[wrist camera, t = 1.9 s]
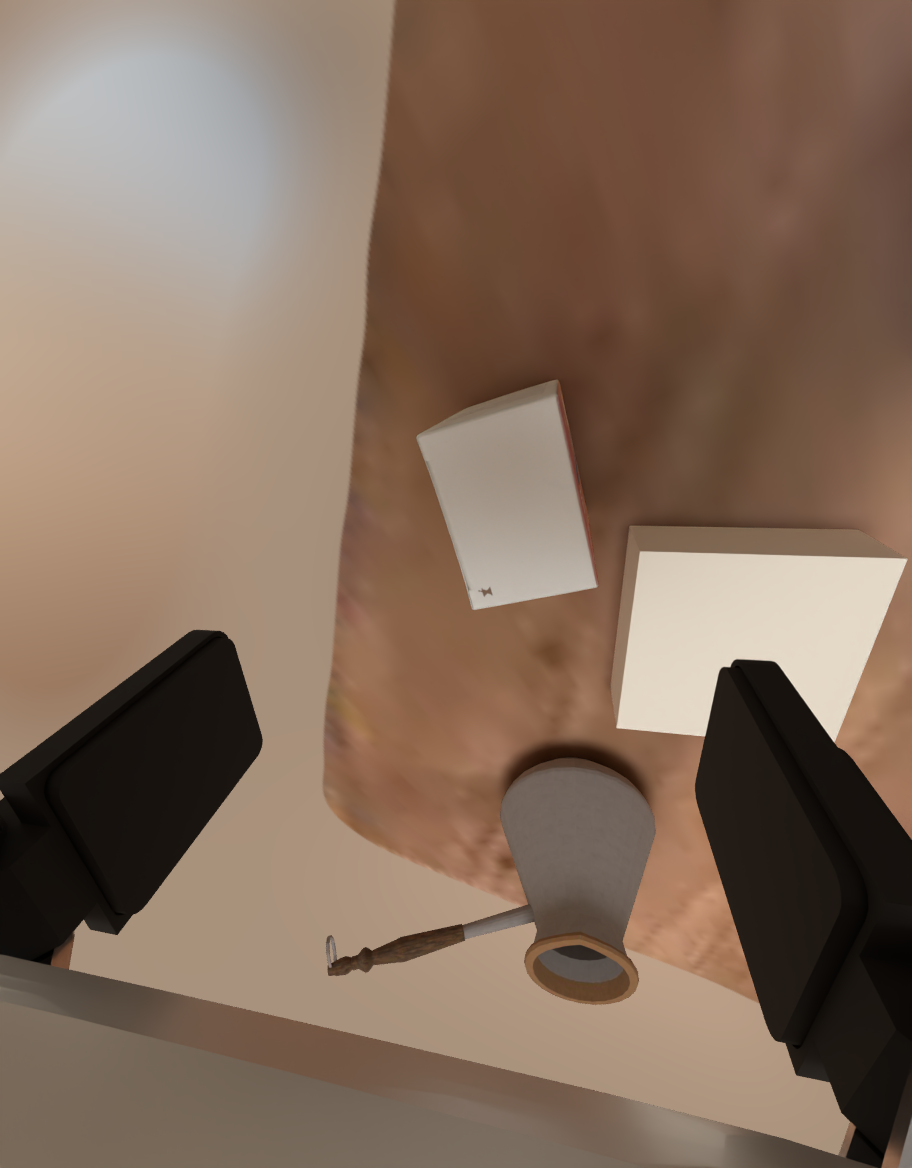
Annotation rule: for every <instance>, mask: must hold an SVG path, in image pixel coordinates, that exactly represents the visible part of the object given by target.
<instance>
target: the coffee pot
mask: <svg viewBox="0 0 912 1168" xmlns="http://www.w3.org/2000/svg"><path fill="white" fill-rule="evenodd" d="M500 819H501V822H502V826H503V829H504V833H505V836H506V839H507V842H508V845H509V848H510V851H511V854H512V857H513V860H514V863H515V866H516V869H517V872H518V875H519V878H520V881H521V884H522V887H523V889H524V892H525V895H526V898H527V901H528V904H529V905H525V906H522V907H519V908H516V909H513V910H510V911H506V912H503V913H500V914H497V915H493V916H490V917H487V918H484V919H481V920H478V921H474V922H471V923H468V924H465V925H462V924H460V925H455V926H450V927H446V928H441V929H437V930H432V931H427V932H422V933H418V934H413V935H409V936H404V937H400V938H398V939H397V940H394V941H392V942H390V943H388V944H386V945H383V946H381V947H379V948H377V949H375V950H373V951H371V950H370V949H368V948H366V947H365V948H363V949H362V950H361V952H360V953H359V954H358V955H356V956H353V957H352V958H351V957H347V956H345V957H343V958H340V959H339V960H337V957H336V956H337V955H336V948H335V943H334V939H333V937H332V936H328V937H327V942H326V953H327V961H328V975H329V976H332V975H335V976H339V975H346V974H348V973H349V972H350V971H351V970H356V969H360V970H362V971H364V972H368V971H369V970H370V969H371V968H372V966H373V965H379V964H388V963H396V962H405V961H408V960H411V959H414V958H417V957H420V956H422V955H425V954H428V953H431V952H434V951H436V950H439V949H442V948H445V947H448V946H451V945H454V944H457V943H459V942H462V941H465V939H467V938H471V937H475V936H479V935H483V934H487V933H491V932H495V931H499V930H503V929H507V928H511V927H515V926H519V925H523V924H527V923H531V922H535V925H536V928H537V933H536V937H535V941H534V943H533V944H532V945H531V946H530V947H529V949H528V950H527V952H526V954H525V960H524V963H525V966H526V970H527V973H528V974H529V976H530V977H531V979H532V980H533V981H534V982H535V983H536V984H538V985H539V986H540V987H541V988H542V989H544V990H546V991H548V992H549V993H551V994H553V995H555V996H558V997H560V998H563V999H566V1000H570V1001H574V1002H578V1003H585V1004H593V1005H594V1004H595V1005H596V1004H611V1003H615V1002H620V1001H622V1000H624V999H626V998H628V997H630V996H631V995H632V994H633V993H634V992H635V991H636V988H637V985H638V981H639V978H638V971H637V969H636V967H635V966H634V964H633V962H632V961H631V959H630V958H628V957H627V954H626V951H625V948H624V945H623V942H622V941H623V937H624V934H625V931H626V928H627V924H628V921H629V918H630V915H631V911H632V908H633V905H634V902H635V898H636V895H637V892H638V889H639V885H640V882H641V879H642V876H643V872H644V869H645V866H646V863H647V859H648V856H649V853H650V850H651V846H652V843H653V840H654V837H655V831H656V830H655V820H654V815H653V813H652V811H651V809H650V807H649V805H648V803H647V801H646V799H645V798H644V796H643V795H642V794H641V793H640V791H639V790H638V789H637V788H636V787H635V786H634V785H633V784H632V783H631V782H630V781H629V780H628V779H627V778H625V777H623V776H622V775H620V774H619V773H617V772H615V771H614V770H612V769H610V768H608V767H605V766H603V765H600V764H598V763H595V762H593V761H590V760H587V759H580V758H558V759H554V760H550V761H547V762H544V763H541V764H538V765H536V766H534V767H532V768H530V769H528V770H526V771H524V772H523V773H522V774H521V775H520V776H519V777H518V778H517V779H516V780H514V782H513V783H512V784H511V785H510V787H509V788H508V790H507V792H506V794H505V796H504V798H503V800H502V802H501V812H500ZM330 940H331V944H332V948H333V955H334V962H333V963H331V959H330V950H329V942H330Z"/></svg>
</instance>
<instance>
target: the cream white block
mask: <svg viewBox="0 0 912 1168" xmlns="http://www.w3.org/2000/svg"><path fill="white" fill-rule="evenodd" d="M906 562H907V558H906V557H904V556H902V555H901V554H899V553H897V552H896V551H894V550H892V549H891V548H889V547H887V546H886V545H884V544H882V543H881V542H879V541H877V540H876V539H874V538H872V537H871V536H869V535H867V534H866V533H864V532H862V531H860V530H851V529H795V528H740V527H685V526H629V535H628V543H627V551H626V560H625V568H624V577H623V585H622V593H621V602H620V610H619V619H618V627H617V635H616V644H615V652H614V661H613V669H612V678H611V686H610V687H611V694H612V700H613V707H614V714H615V720H616V727H617V728H623V729H633V730H644V731H654V732H664V733H675V734H685V735H696V736H705V735H706V730H707V726H708V721H709V716H710V711H711V707H712V702H713V697H714V693H715V688H716V683H717V679H718V674H719V671H720V669H721V668H722V667H731V664H732V662H733V661H734V660H736V659H746V660H764V661H774V662H776V663H777V664H778V665H779V666H780V668H781V669H782V670H783V672H784V673H785V675H786V676H787V677H788V679H789V680H790V682H791V683H792V684H793V686H794V687H795V689H796V690H797V691H798V693H799V694H800V696H801V697H802V698H803V700H804V701H805V703H806V704H807V705H808V707H809V708H810V710H811V711H812V712H813V714H814V715H815V717H816V718H817V719H818V721H819V722H820V723H821V725H822V726H823V728H824V729H825V730H826V732H827V733H828V735H829V736H830V737H831V739H832V740H833V742H835V740H836V737H837V735H838V732H839V730H840V727H841V725H842V722H843V720H844V717H845V715H846V712H847V709H848V707H849V704H850V702H851V699H852V697H853V694H854V692H855V689H856V687H857V684H858V682H859V679H860V677H861V674H862V672H863V669H864V667H865V664H866V662H867V659H868V657H869V654H870V652H871V649H872V647H873V644H874V642H875V639H876V637H877V634H878V632H879V629H880V627H881V624H882V622H883V619H884V617H885V614H886V612H887V609H888V607H889V604H890V602H891V599H892V597H893V594H894V592H895V589H896V587H897V584H898V582H899V579H900V577H901V574H902V572H903V569H904V567H905V564H906Z"/></svg>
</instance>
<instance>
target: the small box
mask: <svg viewBox="0 0 912 1168" xmlns="http://www.w3.org/2000/svg"><path fill="white" fill-rule="evenodd" d="M417 442H418V445H419V447H420V450H421V452H422V455H423V458H424V460H425V463H426V465H427V468H428V471H429V474H430V476H431V479H432V482H433V485H434V488H435V491H436V494H437V497H438V500H439V503H440V506H441V509H442V512H443V515H444V518H445V521H446V524H447V527H448V530H449V533H450V536H451V540H452V543H453V546H454V549H455V552H456V555H457V558H458V561H459V564H460V568H461V571H462V574H463V578H464V581H465V584H466V588H467V592H468V596H469V600H470V603H471V607H472V609H473V610H476V609H482V608H487V607H493V606H499V605H504V604H510V603H516V602H521V601H527V600H532V599H537V598H543V597H548V596H554V595H560V594H565V593H570V592H576V591H581V590H585V589H591V588H596V587H598V585H599V583H598V577H597V571H596V565H595V558H594V551H593V545H592V538H591V531H590V524H589V518H588V512H587V508H586V504H585V499H584V495H583V490H582V485H581V480H580V475H579V470H578V465H577V461H576V456H575V452H574V447H573V443H572V438H571V434H570V429H569V424H568V419H567V414H566V410H565V405H564V400H563V395H562V390H561V386H560V382H559V380H553V381H549V382H546V383H542V384H539V385H536V386H532V387H529V388H526V389H523V390H519V391H516V392H513V393H510V394H507V395H504V396H501V397H498V398H495V399H492V400H489V401H486V402H483V403H480V404H477V405H474V406H471V407H468V408H465V409H464V410H462V411H460V412H458V413H456V414H454V415H452V416H451V417H449V418H447V419H445V420H443V421H442V422H440V423H438V424H436V425H435V426H433V427H431V428H429V429H427V430H425V431H423V432H421V433H420V434H418V435H417Z"/></svg>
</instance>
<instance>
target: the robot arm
mask: <svg viewBox="0 0 912 1168" xmlns="http://www.w3.org/2000/svg"><path fill="white" fill-rule="evenodd" d="M262 740H263V739H262V734H261V731H260V728H259V724H258V721H257V718H256V715H255V711H254V708H253V705H252V701H251V698H250V695H249V691H248V688H247V685H246V681H245V678H244V675H243V671H242V668H241V665H240V661H239V659H238V655H237V651H236V648H235V645H234V643H233V642H232V641H231V640H230V639H228V637H227V635H226V634H224V632H221V631H209V630H193V631H191V632H189V633H188V634H186V635H185V636H184V637H182V638H181V639H179V640H178V641H177V642H175V643H174V644H173V645H171V646H170V647H169V648H167V649H166V650H165V651H163V652H162V653H161V654H160V655H158V656H157V657H155V658H154V659H153V660H151V661H150V662H149V663H147V664H146V665H145V666H144V667H142V668H141V669H140V670H138V671H137V672H135V673H134V674H133V675H132V676H130V677H129V678H128V679H126V680H125V681H123V682H122V683H121V684H119V685H118V686H117V687H116V688H115V689H113V690H111V691H110V692H109V693H107V694H106V695H105V696H103V697H102V698H101V699H99V700H98V701H97V702H95V703H94V704H93V705H91V706H90V707H89V708H88V709H86V710H85V711H83V712H82V713H81V714H80V715H78V716H77V717H76V718H74V719H73V720H72V721H70V722H69V723H68V724H67V725H65V726H64V727H62V728H61V729H60V730H59V731H57V732H56V733H54V734H53V735H52V736H50V737H49V738H48V739H46V740H45V741H44V742H42V743H41V744H40V745H38V746H37V747H36V748H35V749H33V750H32V751H30V752H29V753H28V754H26V755H25V756H24V757H22V758H21V759H20V760H18V761H17V762H16V763H14V764H13V765H12V766H10V767H9V768H8V769H6V770H5V771H4V772H2V773H1V774H0V790H1V792H2V794H3V795H4V798H3V799H2V800H0V1168H912V840H911V838H910V837H909V836H908V834H907V833H906V832H905V830H904V829H903V827H902V826H901V825H900V823H899V822H898V821H897V819H896V818H895V817H894V815H893V814H892V812H891V811H890V810H889V808H888V807H887V806H886V804H885V803H884V802H883V800H882V799H881V797H880V796H879V795H878V793H877V792H876V791H875V789H874V788H873V787H872V785H871V784H870V782H869V781H868V780H867V778H866V777H865V776H864V774H863V773H862V771H861V770H860V769H859V767H858V766H857V765H856V763H855V762H854V761H853V759H852V758H851V757H850V756H849V755H848V754H847V753H846V752H845V751H844V750H842V749H840V748H838V747H837V746H836V744H835V743H834V742H833V740H832V739H831V737H830V736H829V735H828V733H827V732H826V730H825V729H824V728H823V726H822V725H821V723H820V722H819V721H818V719H817V718H816V717H815V715H814V714H813V712H812V711H811V710H810V708H809V707H808V705H807V704H806V703H805V701H804V700H803V698H802V697H801V696H800V694H799V693H798V691H797V690H796V689H795V687H794V686H793V684H792V683H791V682H790V680H789V679H788V677H787V676H786V675H785V673H784V672H783V670H782V669H781V668H780V666H779V665H778V664H777V663H776V662H774V661H764V660H746V659H736V660H734V661H733V662H732V664H731V667H722V668H721V669H720V671H719V674H718V679H717V683H716V688H715V693H714V697H713V702H712V707H711V711H710V716H709V721H708V726H707V730H706V735H705V740H704V744H703V749H702V754H701V758H700V763H699V768H698V772H697V777H696V783H695V793H696V800H697V804H698V808H699V811H700V814H701V817H702V820H703V824H704V827H705V830H706V833H707V836H708V840H709V843H710V846H711V849H712V852H713V856H714V859H715V862H716V865H717V868H718V872H719V875H720V878H721V881H722V884H723V888H724V891H725V894H726V897H727V900H728V904H729V907H730V910H731V913H732V916H733V920H734V923H735V926H736V929H737V932H738V936H739V939H740V942H741V945H742V948H743V952H744V955H745V958H746V961H747V964H748V968H749V971H750V974H751V977H752V980H753V983H754V987H755V990H756V993H757V996H758V999H759V1003H760V1006H761V1009H762V1012H763V1015H764V1019H765V1021H766V1024H767V1027H768V1029H769V1032H770V1034H771V1036H772V1037H773V1038H774V1039H775V1040H776V1041H778V1042H783V1043H786V1046H787V1049H788V1052H789V1055H790V1058H791V1061H792V1064H793V1067H794V1070H795V1073H796V1075H797V1076H802V1077H807V1078H812V1079H817V1080H822V1081H826V1082H830V1084H831V1086H832V1089H833V1092H834V1094H835V1097H836V1100H837V1102H838V1105H839V1108H840V1110H841V1113H842V1114H843V1115H844V1116H845V1117H846V1118H847V1119H848V1120H849V1121H850V1123H849V1126H848V1129H847V1132H846V1135H845V1138H844V1141H843V1144H842V1147H841V1150H840V1152H839V1155H835V1154H831V1153H828V1152H825V1151H822V1150H818V1149H815V1148H812V1147H809V1146H805V1145H802V1144H799V1143H796V1142H793V1141H790V1140H786V1139H783V1138H779V1137H775V1136H771V1135H767V1134H763V1133H760V1132H756V1131H752V1130H748V1129H744V1128H740V1127H736V1126H732V1125H728V1124H724V1123H720V1122H717V1121H713V1120H709V1119H705V1118H701V1117H697V1116H693V1115H689V1114H685V1113H681V1112H677V1111H673V1110H670V1109H666V1108H662V1107H658V1106H654V1105H650V1104H646V1103H642V1102H639V1101H635V1100H630V1099H627V1098H623V1097H619V1096H615V1095H611V1094H607V1093H602V1092H598V1091H594V1090H590V1089H586V1088H582V1087H577V1086H573V1085H569V1084H564V1083H560V1082H555V1081H552V1080H547V1079H543V1078H539V1077H535V1076H530V1075H526V1074H522V1073H517V1072H513V1071H509V1070H505V1069H501V1068H496V1067H492V1066H488V1065H484V1064H479V1063H475V1062H471V1061H467V1060H462V1059H458V1058H454V1057H450V1056H445V1055H441V1054H437V1053H432V1052H428V1051H424V1050H420V1049H415V1048H411V1047H407V1046H402V1045H398V1044H394V1043H390V1042H385V1041H381V1040H377V1039H373V1038H368V1037H364V1036H360V1035H355V1034H351V1033H347V1032H342V1031H338V1030H333V1029H329V1028H324V1027H320V1026H316V1025H311V1024H307V1023H303V1022H298V1021H294V1020H290V1019H286V1018H281V1017H276V1016H272V1015H268V1014H264V1013H259V1012H255V1011H251V1010H246V1009H242V1008H237V1007H233V1006H229V1005H224V1004H220V1003H216V1002H211V1001H207V1000H202V999H198V998H193V997H189V996H184V995H180V994H176V993H171V992H167V991H163V990H158V989H154V988H150V987H145V986H140V985H136V984H132V983H127V982H123V981H118V980H113V979H109V978H104V977H100V976H96V975H90V974H87V973H82V972H78V971H73V970H69V965H70V959H71V954H72V948H73V942H74V935H75V934H74V930H75V929H76V928H77V927H78V925H79V924H80V923H81V921H83V919H84V920H85V922H86V924H87V925H88V927H89V928H90V929H91V930H95V931H100V932H105V933H110V934H115V935H118V933H119V932H120V931H121V929H122V928H123V927H124V926H125V924H126V923H127V922H128V920H129V919H130V918H131V916H132V915H133V914H136V913H138V912H139V911H140V910H142V909H143V908H144V906H145V905H146V904H147V903H148V901H149V900H150V899H151V898H152V896H153V895H154V894H155V892H156V891H157V890H158V888H159V886H161V884H162V883H163V882H164V880H165V879H166V877H167V876H168V875H169V874H170V872H171V871H172V869H173V868H174V867H175V866H176V864H177V863H178V861H179V860H180V859H181V858H182V856H183V855H184V853H185V852H186V851H187V850H188V848H189V847H190V845H191V844H192V843H193V842H194V840H195V839H196V837H197V836H198V835H199V834H200V832H201V831H202V829H203V828H204V827H205V826H206V824H207V823H208V822H209V820H210V819H211V818H212V816H213V815H214V814H215V812H216V811H217V809H218V808H219V807H220V806H221V804H222V803H223V802H224V800H225V799H226V798H227V796H228V795H229V794H230V792H231V791H232V790H233V788H234V787H235V785H236V784H237V783H238V782H239V780H240V779H241V778H242V776H243V775H244V773H245V772H246V771H247V769H248V768H249V767H250V765H251V764H252V763H253V761H254V760H255V759H256V757H257V756H258V754H259V753H260V750H261V748H262Z"/></svg>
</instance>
